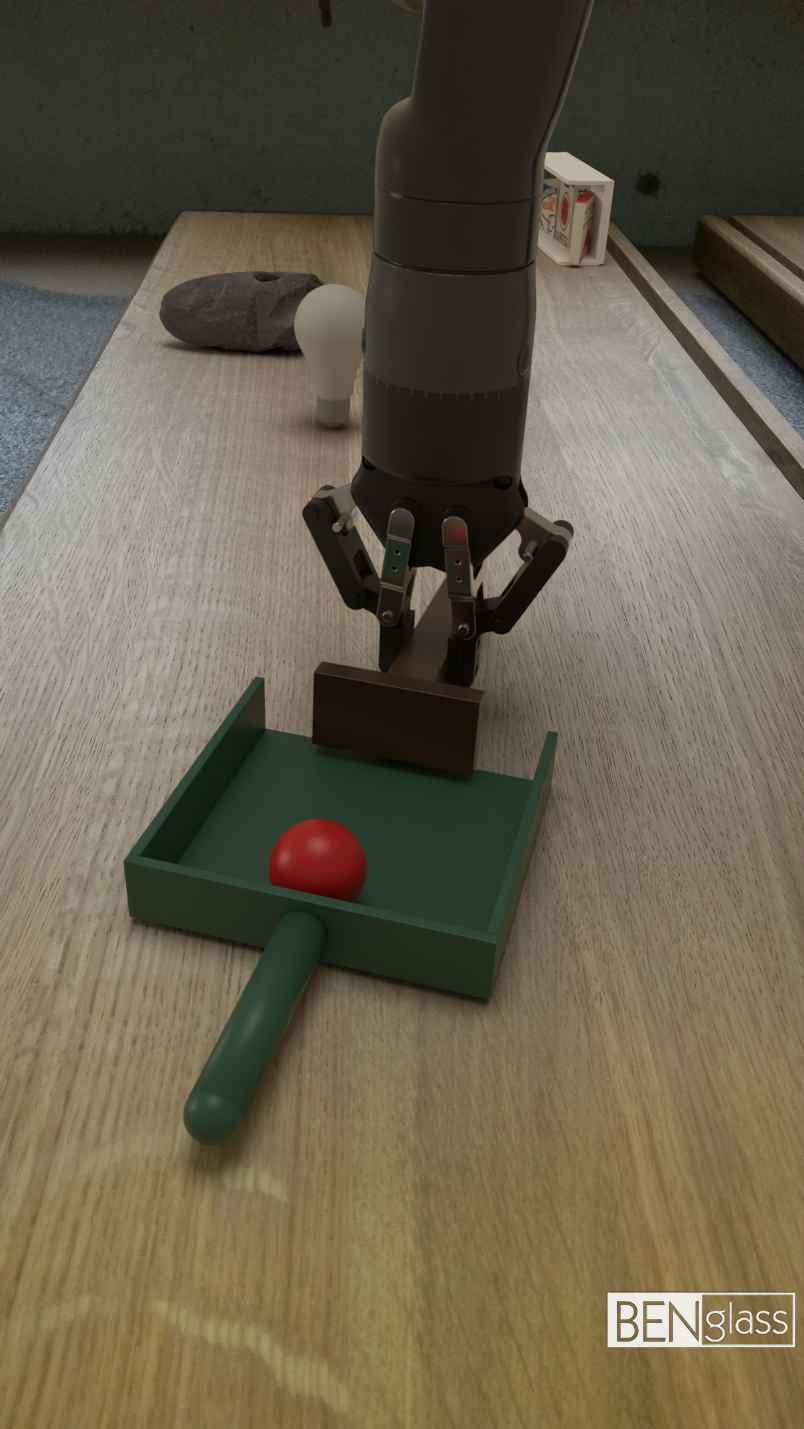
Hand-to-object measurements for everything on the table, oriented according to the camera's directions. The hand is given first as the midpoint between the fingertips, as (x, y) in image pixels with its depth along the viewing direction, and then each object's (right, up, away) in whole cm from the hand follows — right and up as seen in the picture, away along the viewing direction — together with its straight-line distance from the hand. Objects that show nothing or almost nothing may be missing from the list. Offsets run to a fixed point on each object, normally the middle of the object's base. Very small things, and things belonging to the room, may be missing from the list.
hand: (427, 683), depth 64 cm
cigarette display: (+19, +57, +88) cm, 106 cm away
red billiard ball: (-5, -8, -15) cm, 17 cm away
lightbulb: (-7, +21, +33) cm, 40 cm away
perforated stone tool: (-16, +32, +49) cm, 61 cm away
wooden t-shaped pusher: (0, 0, +1) cm, 1 cm away
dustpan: (-5, -10, -14) cm, 18 cm away
